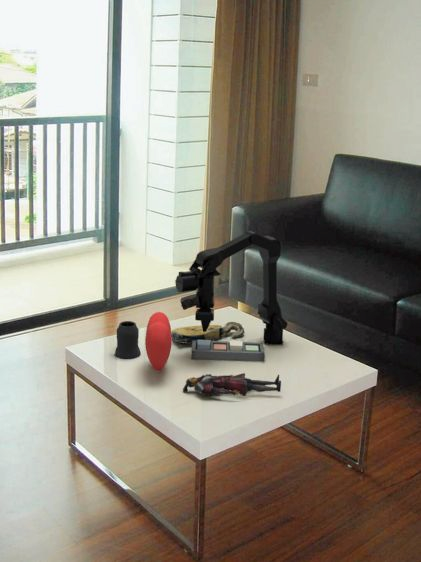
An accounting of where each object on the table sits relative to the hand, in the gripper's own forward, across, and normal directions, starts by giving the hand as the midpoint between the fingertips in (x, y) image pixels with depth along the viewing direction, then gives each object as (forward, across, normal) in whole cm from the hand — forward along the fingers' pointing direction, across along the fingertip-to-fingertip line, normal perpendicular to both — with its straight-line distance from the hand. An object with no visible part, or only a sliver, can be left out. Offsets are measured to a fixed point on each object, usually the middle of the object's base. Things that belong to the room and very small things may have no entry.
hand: (204, 331), depth 257 cm
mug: (+9, +1, -27) cm, 28 cm away
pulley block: (+9, -15, +1) cm, 17 cm away
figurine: (+9, +30, +9) cm, 33 cm away
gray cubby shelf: (+8, 0, +8) cm, 12 cm away
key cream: (+6, 0, +11) cm, 13 cm away
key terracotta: (+8, 0, +6) cm, 10 cm away
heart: (+9, +16, -15) cm, 23 cm away
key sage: (+8, 0, +17) cm, 19 cm away
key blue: (+6, 0, 0) cm, 6 cm away
